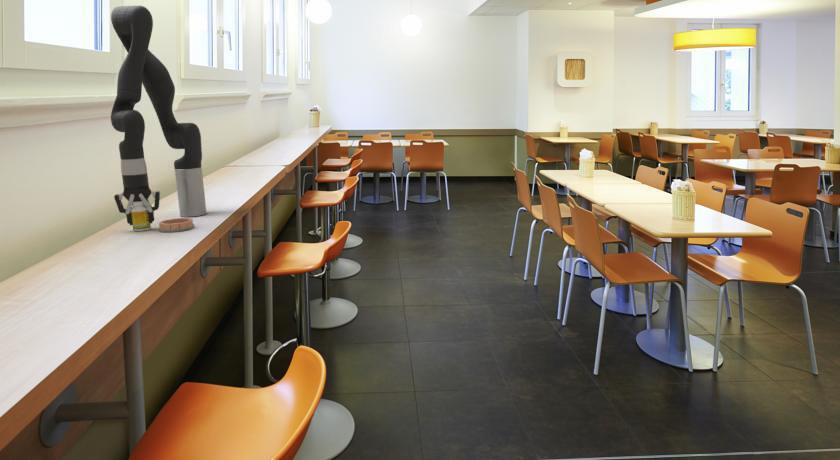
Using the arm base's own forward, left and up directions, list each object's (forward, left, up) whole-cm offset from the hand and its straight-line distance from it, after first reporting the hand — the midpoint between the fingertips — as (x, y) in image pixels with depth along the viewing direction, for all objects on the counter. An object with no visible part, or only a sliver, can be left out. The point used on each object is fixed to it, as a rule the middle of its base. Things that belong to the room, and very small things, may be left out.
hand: (141, 223), depth 205 cm
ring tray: (+4, +11, -2) cm, 12 cm away
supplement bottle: (0, 0, -2) cm, 2 cm away
